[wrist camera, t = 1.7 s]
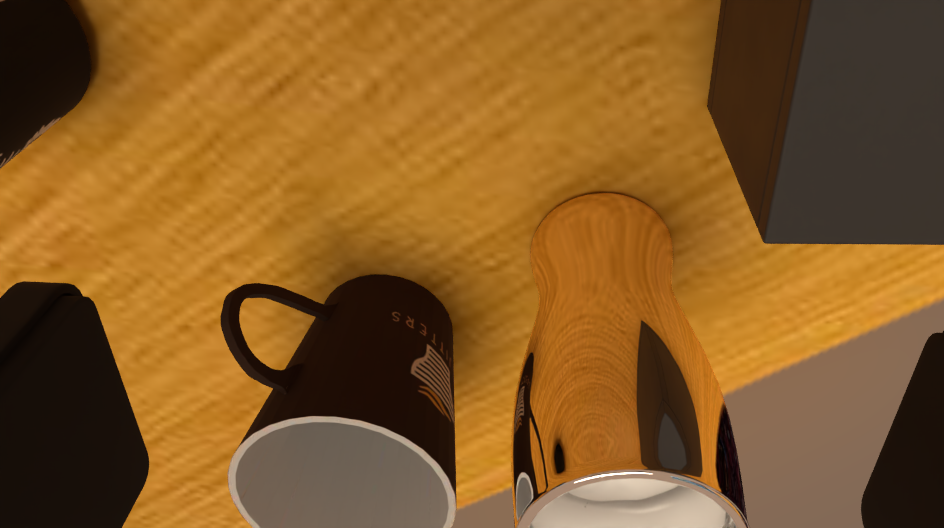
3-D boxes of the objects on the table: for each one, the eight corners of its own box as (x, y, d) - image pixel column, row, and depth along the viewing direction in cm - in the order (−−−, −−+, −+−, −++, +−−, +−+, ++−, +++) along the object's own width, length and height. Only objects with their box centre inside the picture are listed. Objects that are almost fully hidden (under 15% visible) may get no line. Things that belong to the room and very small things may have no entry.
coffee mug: (483, 393, 40) (467, 569, 31) (317, 395, 41) (260, 567, 32) (459, 190, 33) (430, 346, 25) (262, 200, 34) (172, 352, 26)
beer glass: (487, 240, 34) (455, 531, 22) (621, 150, 31) (669, 427, 19) (583, 338, 37) (601, 646, 25) (713, 264, 34) (808, 570, 22)
